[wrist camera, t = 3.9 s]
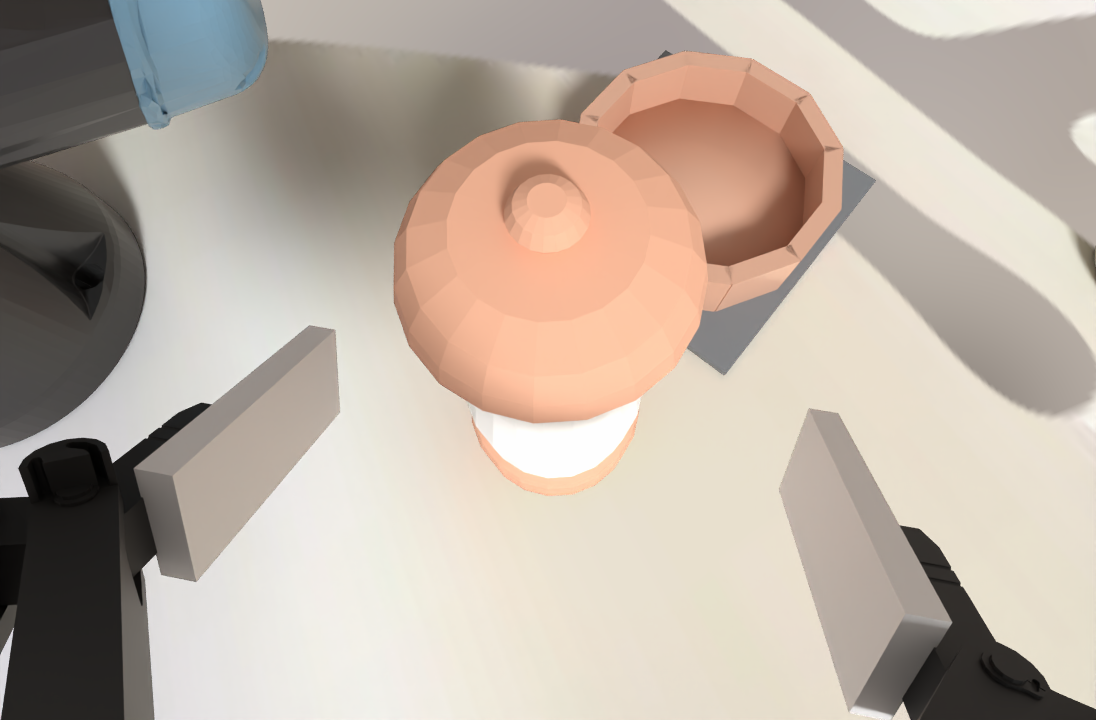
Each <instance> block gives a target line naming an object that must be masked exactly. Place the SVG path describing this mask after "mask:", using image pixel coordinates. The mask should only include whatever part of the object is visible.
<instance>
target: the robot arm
mask: <svg viewBox="0 0 1096 720" xmlns="http://www.w3.org/2000/svg"><path fill="white" fill-rule="evenodd" d="M267 53H268V35H267V27H266V23H265V17H264V12H263V8H262V5H261V1H260V0H0V448H1V447H4V446H7V445H10V444H13V443H16V442H18V441H21V440H24V439H26V438H28V437H30V436H32V435H35V434H36V433H38V432H40V431H42V430H44V429H46V428H48V427H49V426H51V425H53V424H54V423H56V422H57V421H59V420H60V419H62V418H63V417H65V416H66V415H68V414H69V413H70V412H71V411H73V410H74V409H75V408H77V407H78V406H79V405H80V404H81V403H82V402H84V401H85V400H86V399H87V398H88V397H89V396H90V395H91V394H92V393H93V392H94V391H95V390H96V389H97V388H98V387H99V386H100V385H101V383H102V382H103V381H104V380H105V379H106V378H107V376H108V375H109V374H110V373H111V371H112V370H113V368H114V367H115V366H116V364H117V363H118V361H119V360H120V358H121V356H122V355H123V353H124V352H125V350H126V348H127V346H128V344H129V342H130V340H131V338H132V335H133V333H134V331H135V328H136V325H137V323H138V320H139V316H140V312H141V308H142V303H143V297H144V286H145V277H144V265H143V260H142V255H141V252H140V249H139V245H138V243H137V241H136V238H135V236H134V234H133V233H132V231H131V229H130V228H129V226H128V225H127V223H126V222H125V221H124V220H123V218H122V217H121V216H120V215H119V214H118V213H117V212H116V211H115V210H114V209H113V208H111V207H110V206H109V205H108V204H106V203H105V202H104V201H102V200H101V199H100V198H99V197H97V196H96V195H95V194H93V193H92V192H91V191H89V190H88V189H87V188H85V187H84V186H83V185H81V184H80V183H78V182H77V181H75V180H73V179H72V178H70V177H68V176H66V175H64V174H62V173H61V172H58V171H56V170H54V169H51V168H49V167H46V166H43V165H40V164H37V163H34V162H32V161H29V160H32V159H35V158H39V157H42V156H45V155H48V154H52V153H55V152H58V151H61V150H65V149H68V148H71V147H74V146H78V145H81V144H84V143H87V142H91V141H94V140H97V139H100V138H104V137H107V136H110V135H113V134H117V133H120V132H123V131H126V130H130V129H133V128H136V127H139V126H142V125H146V124H148V125H149V127H151V128H153V129H154V130H157V129H161V128H164V127H166V126H168V125H169V123H170V120H171V118H172V117H174V116H177V115H180V114H183V113H185V112H188V111H191V110H194V109H197V108H199V107H202V106H205V105H208V104H211V103H213V102H216V101H219V100H222V99H224V98H227V97H230V96H233V95H236V94H238V93H240V92H242V91H244V90H245V89H247V88H248V87H250V86H251V85H252V84H253V83H254V82H255V81H256V80H257V79H258V77H259V76H260V74H261V72H262V71H263V68H264V66H265V63H266V59H267ZM339 413H340V403H339V386H338V369H337V352H336V335H335V330H333V329H327V328H321V327H315V326H308V327H307V328H306V329H304V330H303V331H302V332H301V333H299V334H298V335H297V336H296V337H295V338H293V339H292V340H291V341H290V342H288V343H287V344H286V345H285V346H283V347H282V348H281V349H280V350H279V351H277V352H276V353H275V354H274V355H272V356H271V357H270V358H269V359H267V360H266V361H265V362H264V363H263V364H261V365H260V366H259V367H258V368H256V369H255V370H254V371H253V372H252V373H250V374H249V375H248V376H247V377H245V378H244V379H243V380H242V381H240V382H239V383H238V384H237V385H236V386H234V387H233V388H232V389H231V390H229V391H228V392H227V393H226V394H224V395H223V396H222V397H221V398H220V399H218V400H217V401H216V402H215V403H213V404H206V403H199V404H197V405H195V406H192V407H190V408H188V409H185V410H183V411H181V412H179V413H177V414H176V415H175V416H173V417H172V418H171V419H170V420H168V421H167V422H166V423H164V424H163V425H162V428H158V429H157V430H155V431H154V432H153V433H151V434H150V435H149V437H148V439H146V438H145V439H144V440H142V441H141V442H140V443H138V444H137V445H136V446H135V447H133V448H132V449H131V450H129V451H128V452H127V453H126V454H124V455H123V456H122V457H120V458H119V459H118V460H116V461H115V462H114V463H113V464H112V461H111V457H110V454H109V450H108V448H107V446H106V444H105V443H103V442H101V441H99V440H97V439H90V438H76V439H66V440H62V441H59V442H55V443H51V444H48V445H46V446H44V447H42V448H40V449H38V450H35V451H34V452H32V453H31V454H30V455H28V456H27V457H26V458H25V459H23V461H22V463H21V464H20V466H19V468H18V469H19V471H20V474H21V477H22V479H23V482H24V485H25V487H26V490H27V493H28V496H29V497H15V498H0V654H1V652H2V650H3V648H4V646H5V644H6V642H7V640H8V638H9V636H10V634H11V632H12V630H13V628H14V631H13V638H12V646H11V653H10V660H9V667H8V674H7V681H6V688H5V695H4V702H3V709H2V716H1V720H154V706H153V691H152V676H151V662H150V647H149V632H148V617H147V602H146V587H145V578H144V575H143V571H142V568H143V567H144V566H145V565H146V564H147V563H148V562H149V561H150V560H151V559H152V558H153V557H154V556H155V555H156V556H157V560H158V564H159V568H160V572H161V575H164V576H169V577H174V578H179V579H184V580H189V581H194V582H197V581H198V580H199V578H200V577H201V576H202V575H203V574H204V572H205V571H206V570H207V569H208V568H209V566H210V565H211V564H212V563H213V562H214V561H215V559H216V558H217V557H218V556H219V555H220V553H221V552H222V551H223V550H224V549H225V548H226V546H227V545H228V544H229V543H230V542H231V540H232V539H233V538H234V537H235V536H236V535H237V533H238V532H239V531H240V530H241V529H242V527H243V526H244V525H245V524H246V523H247V522H248V520H249V519H250V518H251V517H252V516H253V514H254V513H255V512H256V511H257V510H258V509H259V507H260V506H261V505H262V504H263V503H264V501H265V500H266V499H267V498H268V497H269V495H270V494H271V493H272V492H273V491H274V490H275V488H276V487H277V486H278V485H279V484H280V482H281V481H282V480H283V479H284V478H285V477H286V475H287V474H288V473H289V472H290V471H291V469H292V468H293V467H294V466H295V465H296V464H297V462H298V461H299V460H300V459H301V458H302V456H303V455H304V454H305V453H306V452H307V451H308V449H309V448H310V447H311V446H312V445H313V443H314V442H315V441H316V440H317V439H318V438H319V436H320V435H321V434H322V433H323V432H324V430H325V429H326V428H327V427H328V426H329V424H330V423H331V422H332V421H333V420H334V419H335V417H336V416H337V415H338V414H339ZM779 492H780V495H781V498H782V501H783V504H784V507H785V511H786V514H787V517H788V520H789V523H790V527H791V530H792V533H793V536H794V539H795V542H796V546H797V549H798V552H799V555H800V558H801V562H802V565H803V568H804V571H805V574H806V577H807V581H808V584H809V587H810V590H811V593H812V597H813V600H814V603H815V606H816V609H817V612H818V616H819V619H820V622H821V625H822V628H823V632H824V635H825V638H826V641H827V644H828V648H829V651H830V654H831V657H832V660H833V663H834V667H835V670H836V673H837V676H838V679H839V683H840V686H841V689H842V692H843V695H844V698H845V702H846V705H847V708H848V711H849V713H852V714H857V715H862V716H867V717H872V718H877V719H882V720H892V718H893V716H894V715H895V713H896V712H897V710H898V709H899V707H900V705H901V704H902V702H904V704H905V707H906V709H907V712H908V714H909V717H910V719H911V720H1096V709H1094V708H1092V707H1089V706H1087V705H1085V704H1082V703H1080V702H1078V701H1075V700H1073V699H1071V698H1068V697H1066V696H1064V695H1061V694H1059V693H1057V692H1055V691H1053V690H1051V689H1050V687H1049V685H1048V683H1047V682H1046V680H1045V678H1044V676H1043V675H1042V674H1041V673H1040V672H1039V671H1038V670H1037V669H1036V668H1035V667H1034V665H1033V664H1032V663H1031V662H1029V661H1028V660H1027V659H1025V658H1024V657H1023V656H1021V655H1020V654H1019V653H1017V652H1016V651H1014V650H1012V649H1010V648H1008V647H1006V646H1004V645H1002V644H1000V643H998V642H996V641H995V639H994V637H993V636H992V634H991V633H990V631H989V629H988V628H987V626H986V624H985V623H984V621H983V619H982V618H981V616H980V614H979V613H978V611H977V609H976V608H975V606H974V604H973V603H972V601H971V599H970V598H969V596H968V594H967V593H966V591H965V589H964V588H963V587H961V586H960V584H961V583H960V581H959V579H958V578H957V576H956V574H955V573H954V571H951V566H950V564H949V563H948V561H947V559H946V558H945V556H944V555H943V553H942V551H941V550H940V548H939V547H938V546H937V545H936V544H935V543H934V542H933V541H932V540H931V539H930V538H929V537H928V536H926V535H925V534H924V533H923V532H922V531H921V530H920V529H917V528H911V527H906V526H900V525H899V524H898V522H897V520H896V518H895V516H894V515H893V513H892V511H891V509H890V507H889V505H888V504H887V502H886V500H885V498H884V496H883V494H882V493H881V491H880V489H879V487H878V485H877V483H876V482H875V480H874V478H873V476H872V474H871V472H870V471H869V469H868V467H867V465H866V463H865V461H864V460H863V458H862V456H861V454H860V452H859V450H858V449H857V447H856V445H855V443H854V441H853V439H852V438H851V436H850V434H849V432H848V430H847V428H846V427H845V425H844V423H843V421H842V419H841V418H840V416H839V414H838V413H833V412H827V411H821V410H815V409H808V412H807V415H806V418H805V420H804V423H803V426H802V428H801V431H800V434H799V436H798V439H797V442H796V444H795V447H794V450H793V453H792V455H791V458H790V461H789V463H788V466H787V469H786V471H785V474H784V477H783V479H782V482H781V485H780V487H779Z"/></svg>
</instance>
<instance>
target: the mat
mask: <svg viewBox="0 0 1096 720" xmlns="http://www.w3.org/2000/svg"><path fill="white" fill-rule="evenodd" d="M670 55H673V54H671V53H669V52H667V51H665V52H664V53H663V54H662V55H661V56H660V57H659V58H658V59H660V58H664V57H667V56H670ZM875 181H876V180H875V179H873V178H871V177H870V176H868V175H867V174H865V173H863V172H862V171H860V170H858V169H857V168H855V167H854V166H852V165H850V164H849V163H847V162H846V161H844V160H843V179H842V209H841V211H840V212H839V213H838V214H837V216H836V217H835V218H834V220H833V221H832V222H831V223H830V225H829V226H828V227H827V228H826V230H825V231H824V232H823V234H822V235H821V236H820V237H819V239H818V240H817V241H816V242H815V244H814V245H813V246H812V248H811V249H810V250H809V251H808V253H807V254H806V255H805V256H804V258H803V259H802V260H801V262H800V263H799V264H798V265H797V266H796V268H795V269H794V270H793V271H792V272H791V274H790V275H789V276H788V277H787V278H786V280H785V281H784V282H783V283H782V284H781V286H780V287H779V288H778V289H777V290H775V291H772V292H769V293H766V294H764V295H761V296H758V297H755V298H752V299H750V300H747V301H744V302H741V303H738V304H736V305H733V306H730V307H727V308H724V309H722V310H719V311H716V312H715V311H714V312H712V311H705V310H702V315H701V320H700V325H699V328H698V329H697V331H696V333H695V335H694V336H693V338H692V340H691V341H690V343H689V345H688V346H687V348H688V349H689V350H690V351H692V352H693V353H694V354H696V355H697V356H698V357H700V358H701V359H702V360H704V361H705V362H707V363H708V364H709V365H711V366H712V367H713V368H715V369H716V370H717V371H719V372H720V373H721V374H723V375H725V374H726V373H727V372H728V370H729V369H730V368H731V366H732V365H733V364H734V363H735V361H736V360H737V359H738V357H739V356H740V355H741V354H742V352H743V351H744V350H745V348H746V347H747V346H748V345H749V343H750V342H751V341H752V339H753V338H754V337H755V336H756V334H757V333H758V332H759V330H760V329H761V328H762V327H763V325H764V324H765V323H766V321H767V320H768V319H769V318H770V316H771V315H772V314H773V312H774V311H775V310H776V309H777V307H778V306H779V305H780V303H781V302H782V301H783V300H784V298H785V297H786V296H787V294H788V293H789V292H790V291H791V289H792V288H793V287H794V285H795V284H796V283H797V282H798V280H799V279H800V278H801V276H802V275H803V274H804V273H805V271H806V270H807V269H808V267H809V266H810V265H811V264H812V262H813V261H814V260H815V258H816V257H817V256H818V255H819V253H820V252H821V251H822V249H823V248H824V247H825V246H826V244H827V243H828V242H829V240H830V239H831V238H832V237H833V235H834V234H835V233H836V231H837V230H838V229H839V228H840V226H841V225H842V224H843V222H844V221H845V220H846V219H847V217H848V216H849V215H850V213H851V212H852V211H853V209H854V208H855V207H856V206H857V204H858V203H859V202H860V201H861V199H862V198H863V197H864V195H865V194H866V193H867V192H868V190H869V189H870V188H871V186H872V185H873V184H874V183H875Z"/></svg>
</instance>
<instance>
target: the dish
mask: <svg viewBox="0 0 1096 720" xmlns="http://www.w3.org/2000/svg"><path fill="white" fill-rule="evenodd" d="M580 123H581V124H586V125H591V126H596V127H601V128H604V129H605V130H607V131H609V132H611V133H613V134H615V135H617V136H619V137H621V138H623V139H625V140H627V141H629V142H631V143H633V144H635V145H637V146H639V147H640V148H641V149H643V150H644V151H645V152H647V153H648V154H649V155H650V156H651V157H652V158H653V159H654V160H655V161H656V162H657V163H658V164H659V165H660V166H661V167H662V168H663V169H665V170H666V171H667V172H668V173H669V174H670V175H671V176H672V177H673V178H674V179H675V180H676V181H677V182H678V183H679V184H680V186H681V188H682V190H683V191H684V193H685V195H686V197H687V199H688V201H689V203H690V204H691V206H692V208H693V210H694V212H695V214H696V215H697V217H698V219H699V221H700V224H701V231H702V237H703V243H704V250H705V256H706V262H707V272H708V284H707V289H706V294H705V299H704V305H703V310H705V311H712V312H714V311H715V312H716V311H719V310H722V309H724V308H727V307H730V306H733V305H736V304H738V303H741V302H744V301H747V300H750V299H752V298H755V297H758V296H761V295H764V294H766V293H769V292H772V291H775V290H777V289H778V288H779V287H780V286H781V284H782V283H783V282H784V281H785V280H786V278H787V277H788V276H789V275H790V274H791V272H792V271H793V270H794V269H795V268H796V266H797V265H798V264H799V263H800V262H801V260H802V259H803V258H804V256H805V255H806V254H807V253H808V251H809V250H810V249H811V248H812V246H813V245H814V244H815V242H816V241H817V240H818V239H819V237H820V236H821V235H822V234H823V232H824V231H825V230H826V228H827V227H828V226H829V225H830V223H831V222H832V221H833V220H834V218H835V217H836V216H837V214H838V213H839V212H840V211H841V209H842V179H843V146H842V144H841V143H840V141H839V140H838V138H837V136H836V135H835V133H834V131H833V130H832V128H831V127H830V125H829V123H828V122H827V120H826V118H825V117H824V115H823V114H822V112H821V110H820V109H819V107H818V105H817V104H816V102H815V101H814V99H813V97H812V96H811V94H809V92H807V91H805V90H804V89H802V88H800V87H799V86H797V85H795V84H794V83H792V82H790V81H789V80H787V79H785V78H784V77H782V76H780V75H779V74H777V73H775V72H774V71H772V70H770V69H769V68H767V67H765V66H764V65H762V64H760V63H759V62H757V61H755V60H754V59H753V60H752V59H750V58H742V57H733V56H725V55H717V54H709V53H700V52H692V51H686V52H685V51H683V52H680V53H677V54H674V55H670V56H667V57H664V58H660V59H657V60H654V61H651V62H648V63H644V64H641V65H638V66H635V67H632V68H629V69H625V70H624V71H622V72H621V73H620V74H619V75H618V76H617V77H616V78H615V79H614V80H613V81H612V82H611V83H610V84H609V85H608V87H607V88H606V89H605V90H604V91H603V92H602V93H601V94H600V95H599V96H598V97H597V98H596V99H595V100H594V101H593V102H592V103H591V104H590V105H589V106H588V107H587V108H586V109H585V110H584V111H583V112H582V114H581V117H580Z"/></svg>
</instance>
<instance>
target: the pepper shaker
mask: <svg viewBox="0 0 1096 720" xmlns="http://www.w3.org/2000/svg"><path fill="white" fill-rule="evenodd" d="M707 284H708V272H707V262H706V256H705V250H704V243H703V237H702V231H701V224H700V221H699V219H698V217H697V215H696V214H695V212H694V210H693V208H692V206H691V204H690V203H689V201H688V199H687V197H686V195H685V193H684V191H683V190H682V188H681V186H680V184H679V183H678V182H677V181H676V180H675V179H674V178H673V177H672V176H671V175H670V174H669V173H668V172H667V171H666V170H665V169H663V168H662V167H661V166H660V165H659V164H658V163H657V162H656V161H655V160H654V159H653V158H652V157H651V156H650V155H649V154H648V153H647V152H645V151H644V150H643V149H641V148H640V147H639V146H637V145H635V144H633V143H631V142H629V141H627V140H625V139H623V138H621V137H619V136H617V135H615V134H613V133H611V132H609V131H607V130H605V129H604V128H601V127H596V126H591V125H586V124H581V123H576V122H571V121H566V120H561V119H560V120H545V121H530V122H518V123H515V124H512V125H509V126H506V127H503V128H501V129H498V130H495V131H492V132H489V133H486V134H483V135H480V136H478V137H477V138H475V139H474V140H472V141H471V142H470V143H468V144H467V145H465V146H464V147H462V148H461V149H459V150H458V151H457V152H455V153H454V154H452V155H451V156H449V157H448V158H446V159H445V160H444V161H443V162H442V163H441V164H440V165H439V166H437V168H436V169H435V170H434V171H433V173H432V174H431V175H430V176H429V178H428V179H427V180H426V181H425V183H424V184H423V185H422V186H421V188H420V189H419V190H418V192H417V193H416V194H415V195H414V197H413V198H412V199H411V200H410V202H409V204H408V207H407V210H406V213H405V215H404V218H403V221H402V223H401V226H400V229H399V231H398V234H397V237H396V240H395V242H394V304H395V307H396V310H397V312H398V315H399V318H400V321H401V324H402V327H403V330H404V333H405V336H406V338H407V341H408V344H409V346H410V348H411V349H412V350H413V351H414V353H415V354H416V355H417V356H418V358H419V359H420V360H421V361H422V363H423V364H424V365H425V366H426V368H427V369H428V370H429V371H430V373H431V374H432V375H433V376H434V378H435V379H436V380H437V381H438V383H439V384H441V385H442V386H444V387H445V388H447V389H449V390H450V391H452V392H453V393H455V394H457V395H458V396H460V397H461V398H463V399H465V400H466V401H467V403H468V406H469V409H470V412H471V414H472V423H473V426H474V429H475V432H476V434H477V437H478V440H479V443H480V445H481V447H482V449H483V450H484V451H485V453H486V454H487V455H488V457H489V458H490V459H491V460H492V462H493V463H494V464H495V465H496V467H497V468H498V469H499V470H500V472H501V473H502V474H503V475H504V477H506V478H507V479H509V480H511V481H512V482H514V483H515V484H517V485H518V486H520V487H521V488H523V489H524V490H528V491H532V492H536V493H539V494H543V495H547V496H553V495H568V494H574V493H577V492H579V491H582V490H584V489H587V488H589V487H591V486H594V485H596V484H597V483H598V482H599V481H600V480H602V479H603V478H604V477H605V476H606V475H607V474H609V473H610V472H611V471H612V470H613V469H614V468H615V466H616V465H617V463H618V462H619V460H620V459H621V457H622V455H623V453H624V452H625V450H626V448H627V447H628V445H629V443H630V442H631V440H632V438H633V437H634V432H635V428H636V423H637V418H638V414H639V405H640V400H641V396H642V395H643V394H644V393H645V392H647V391H648V390H649V389H650V388H651V387H653V386H654V385H655V384H656V383H657V382H658V381H660V380H661V379H662V378H663V377H664V376H666V375H667V374H668V373H669V372H670V371H672V370H673V369H674V368H675V366H676V365H677V363H678V361H679V360H680V358H681V356H682V355H683V353H684V351H685V350H686V348H687V346H688V345H689V343H690V341H691V340H692V338H693V336H694V335H695V333H696V331H697V329H698V328H699V325H700V320H701V315H702V310H703V305H704V299H705V294H706V289H707Z"/></svg>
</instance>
